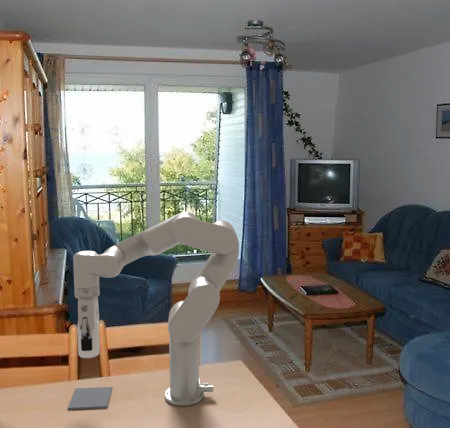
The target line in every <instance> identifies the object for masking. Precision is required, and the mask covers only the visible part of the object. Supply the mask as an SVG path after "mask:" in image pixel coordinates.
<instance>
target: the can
mask: <svg viewBox="0 0 450 428" xmlns="http://www.w3.org/2000/svg"><path fill="white" fill-rule="evenodd" d="M87 322H88V321H87ZM80 327H82V326H80ZM87 328H89V326H87ZM87 332H88V334H89V330H87ZM91 338H92V350H91V351H82V350H81V330H80V329H79V324H78V323H77V349H78V350H77V351H78V356H79V357H80V358H81V359H92V358H96V357H98V355H99V354H100V349H101V348H100V321H98V320H97V326H96V328H95V329H94V330H93V329H91Z"/></svg>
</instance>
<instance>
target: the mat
mask: <svg viewBox="0 0 450 428" xmlns="http://www.w3.org/2000/svg"><path fill="white" fill-rule="evenodd" d="M112 391H113V386H103V387H102V386H101V387H76V388H75V389H74V391H73V394H72V396H71V398H70V401H69V404H68V406H67V411H71V410H89V409H90V410H92V409H93V410H94V409H107V408H109V407H108V406H109V402H110V399H111V395H112Z"/></svg>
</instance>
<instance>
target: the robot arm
mask: <svg viewBox="0 0 450 428" xmlns="http://www.w3.org/2000/svg"><path fill="white" fill-rule="evenodd" d="M239 243H240V241H239V238H238V235H237V233H236V231H235V228H234V226H233V225H232V224H231V223H230V222H229V221H226V220H217V221H215V222H213V223H212V222H207V221H205V220H201V219H199V218H198V217H197V215H195V214H194V213H193V212H191V211H190V212H189V211H181V212H180V213H177V214H175V215H173V216H171V217H170V218H167V219H165V220H163V221H161V222H159V223H157V224H156V225H153V226H151V227H149V228H147V229H145V230H143V231H140V232H139V233H137V234H135V235H133V236H129V237H128V238H126V239H124V240H122V241H119V242H118V243H116V244H114V245H112V246H110V247H108V248H107V249H106V250H104V252H103V253H100V254H98V253H97V252H96V251H94V250H81V251H78V252H76V253H74V254H73V259H72V260H73V262H72V263H73V285H74V286H73V288H74V290H73V291H74V298H75V299H77V318H78V319H77V320H78V321H77V325H78V324H79V329H80V330H81V350H82V351H91V350H92V338H91V329H93V330H94V329H95V328H96V326H97V320H98V322H100V312H99V311H100V310H99V296H100V295H101V293H100V277H101V278H108V279H109V278H111V279H112V278H115V277H117V276H119V274H120V273H121V272H122V270H123V268H124V266H126V265H128V264H130V263H132V262H134V261H136V260H138V259H140V258H143V257H147V256H158V255H160V254H163V253H164V252H166V251H168V250H170V249H172V248H174V247H176V246H177V245H183V246H187V247H191V248H194V249H198V250H201V251H204V252H209V253H210V256H209V257H208V258H207V260H206V262H205V263H204V265H203V266H202V267H201V269H200V271H199V272H198V273H197V275H196V276H195V277H194V279H192V280H191V282H190V284H189V286H188V290H187V291H188V295H187V296H186V297H185V299H184V300H180V301H177V302H176V303H174V304H173V306H171V308H170V310H169V315H168V321H167V323H168V324H167V332H168V334H169V336H168V337H169V349H168V350H169V352H168V355H169V361H168V362H169V387H168V388H167V389H166V390H165V393H164V397H165V400H166V401H167V402H168V403H170V405H174V406H179V407H186V406H187V407H188V406H189V407H190V406H192V405H196V404H198V403H199V402H201V401H202V400H203V399H204V397H205V394H204V393H213V392H214V385H210V382H203V383H202V382H201V378H200V334H201V332H202V331H203V329H204V328H205V326H206V325H207V324H208V322H209V321H210V320H211V318H212V316H214V314H215V312H216V310H217V309H218V306H219V305H220V299H221V295H220V293H221V289H222V288H223V286H224V285H225V284H226V282H227V280H228V278H229V277H230V276H231V274H232V273H233V270H235V267H236V265H237V263H238V259H239V256H240V255H239V253H240V244H239ZM87 321H88V322H87ZM80 326H82V327H80ZM87 326H89V328H87ZM87 330H89V334H88V332H87Z"/></svg>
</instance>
